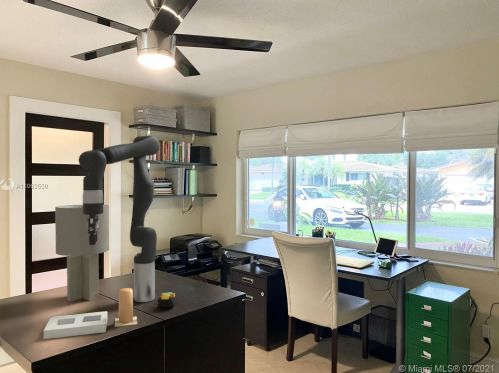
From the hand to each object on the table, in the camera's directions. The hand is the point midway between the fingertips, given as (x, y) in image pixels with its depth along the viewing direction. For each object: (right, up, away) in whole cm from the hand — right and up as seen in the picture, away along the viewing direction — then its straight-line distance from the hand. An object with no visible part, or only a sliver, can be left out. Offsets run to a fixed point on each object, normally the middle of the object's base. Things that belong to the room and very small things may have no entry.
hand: (93, 243), depth 150 cm
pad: (+14, -30, -3) cm, 33 cm away
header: (-2, -30, -9) cm, 32 cm away
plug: (+14, -30, -2) cm, 33 cm away
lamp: (-16, -30, +29) cm, 45 cm away
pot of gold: (+26, -30, +18) cm, 43 cm away
